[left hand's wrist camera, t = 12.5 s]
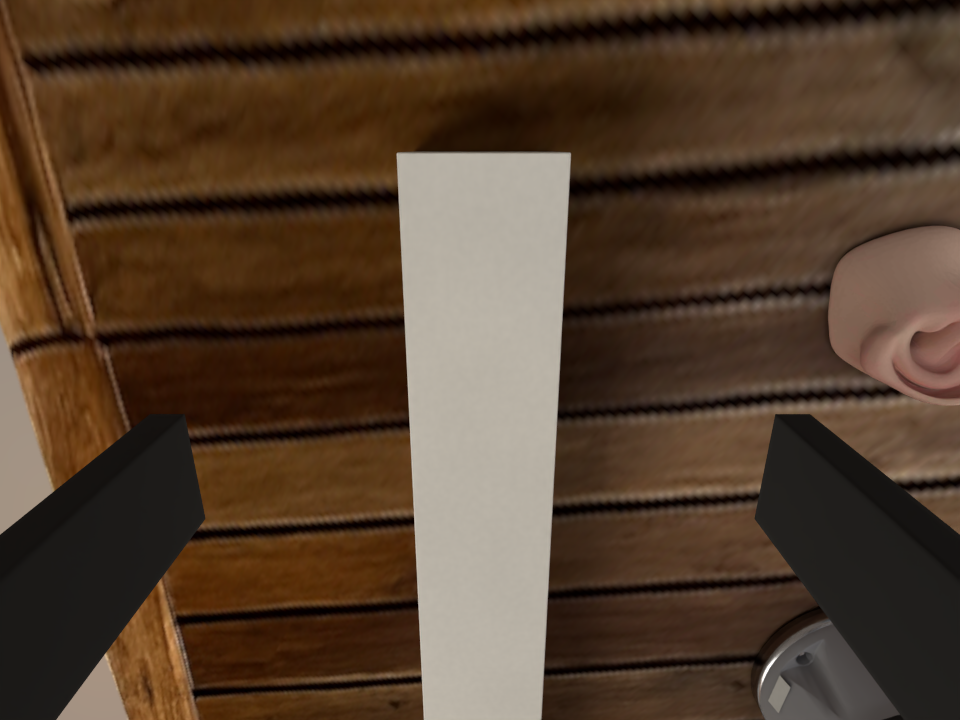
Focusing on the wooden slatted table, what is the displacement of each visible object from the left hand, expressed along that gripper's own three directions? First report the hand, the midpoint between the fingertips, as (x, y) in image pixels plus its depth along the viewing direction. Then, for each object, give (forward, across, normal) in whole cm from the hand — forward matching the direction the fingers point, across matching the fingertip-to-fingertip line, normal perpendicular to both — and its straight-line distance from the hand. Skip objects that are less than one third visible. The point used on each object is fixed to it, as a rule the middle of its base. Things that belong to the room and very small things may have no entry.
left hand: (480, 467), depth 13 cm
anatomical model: (+27, +30, -4) cm, 40 cm away
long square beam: (+27, 0, -26) cm, 37 cm away
